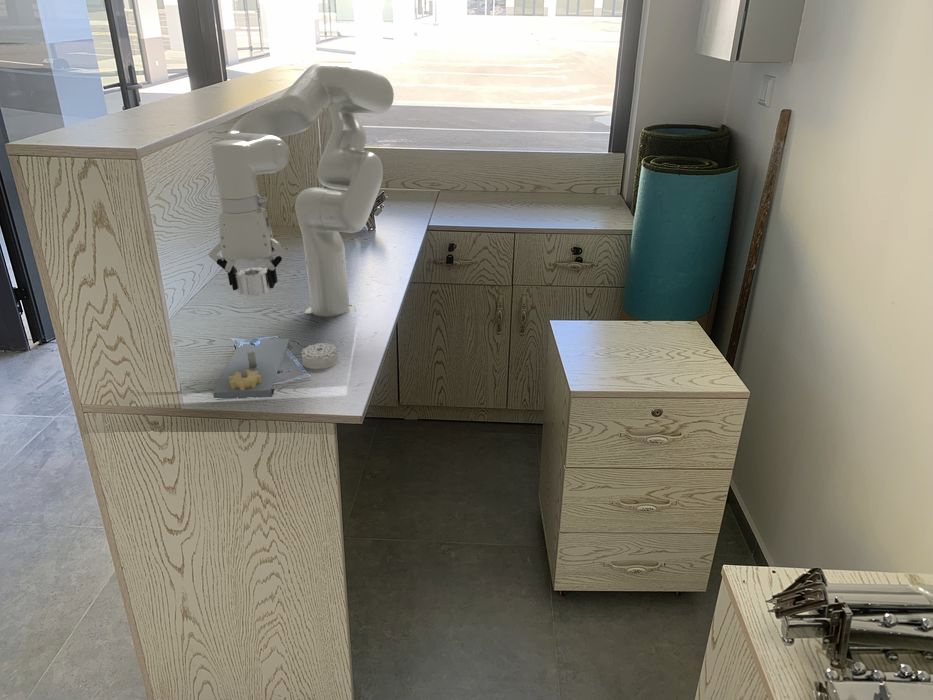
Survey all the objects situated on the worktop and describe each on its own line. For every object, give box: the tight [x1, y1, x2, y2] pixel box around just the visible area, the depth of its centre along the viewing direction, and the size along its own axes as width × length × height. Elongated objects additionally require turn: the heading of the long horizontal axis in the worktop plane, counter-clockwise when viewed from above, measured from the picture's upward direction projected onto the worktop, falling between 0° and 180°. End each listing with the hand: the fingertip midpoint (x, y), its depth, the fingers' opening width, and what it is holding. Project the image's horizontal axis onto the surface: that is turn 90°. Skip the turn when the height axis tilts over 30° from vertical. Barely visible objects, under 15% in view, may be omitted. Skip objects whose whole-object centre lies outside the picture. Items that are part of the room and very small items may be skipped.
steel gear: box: [235, 266, 273, 297], centre depth 147 cm, size 7×7×4 cm
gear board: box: [212, 338, 291, 399], centre depth 145 cm, size 25×11×4 cm, turn 5°
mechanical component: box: [301, 342, 340, 370], centre depth 147 cm, size 10×4×10 cm
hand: (254, 286), depth 148 cm, fingers closed on steel gear, 7 cm apart
